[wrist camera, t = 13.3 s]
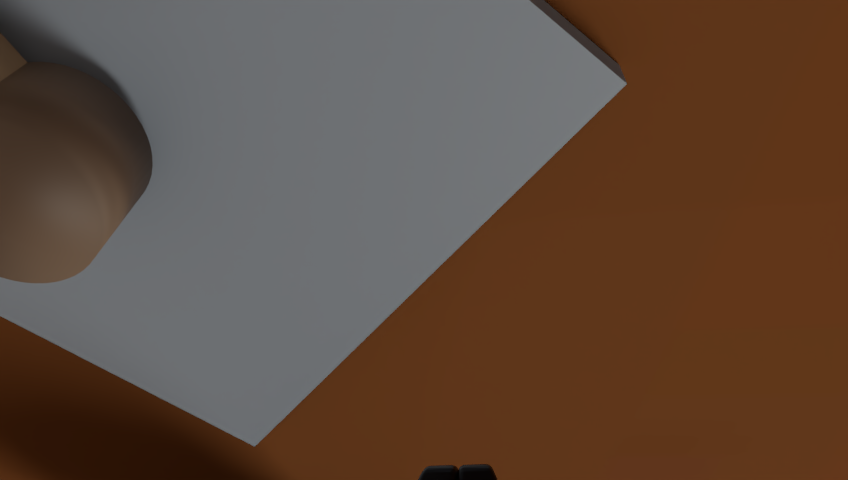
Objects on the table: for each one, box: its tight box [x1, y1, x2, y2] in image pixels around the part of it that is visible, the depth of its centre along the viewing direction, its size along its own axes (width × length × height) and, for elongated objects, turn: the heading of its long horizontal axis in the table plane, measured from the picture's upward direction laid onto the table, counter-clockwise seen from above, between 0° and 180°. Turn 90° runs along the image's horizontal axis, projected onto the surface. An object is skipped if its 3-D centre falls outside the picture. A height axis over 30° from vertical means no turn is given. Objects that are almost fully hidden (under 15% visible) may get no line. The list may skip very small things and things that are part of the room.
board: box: [0, 0, 627, 446], centre depth 19 cm, size 18×20×1 cm
